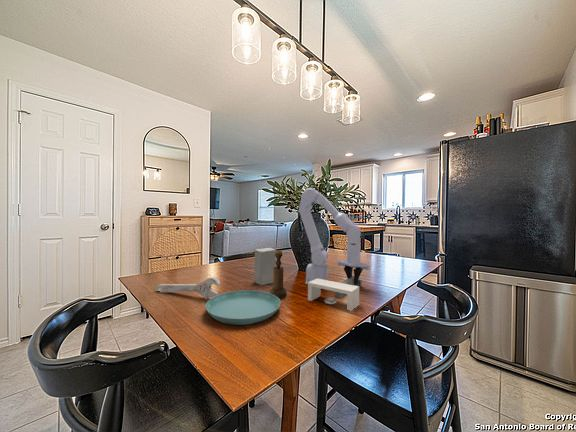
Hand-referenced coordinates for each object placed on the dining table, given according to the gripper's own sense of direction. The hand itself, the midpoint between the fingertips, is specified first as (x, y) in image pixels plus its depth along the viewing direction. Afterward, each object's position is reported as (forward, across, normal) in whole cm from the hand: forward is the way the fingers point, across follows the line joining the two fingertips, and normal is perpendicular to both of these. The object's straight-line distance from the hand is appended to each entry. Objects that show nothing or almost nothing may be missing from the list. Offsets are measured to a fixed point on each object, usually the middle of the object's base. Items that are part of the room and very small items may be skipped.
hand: (353, 283), depth 106 cm
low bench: (+2, +1, -22) cm, 22 cm away
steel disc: (+2, 0, -22) cm, 22 cm away
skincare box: (+2, -35, -19) cm, 40 cm away
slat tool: (+2, 0, -6) cm, 6 cm away
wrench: (+2, -47, -51) cm, 69 cm away
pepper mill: (+2, -19, -29) cm, 35 cm away
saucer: (+2, -19, -47) cm, 51 cm away
